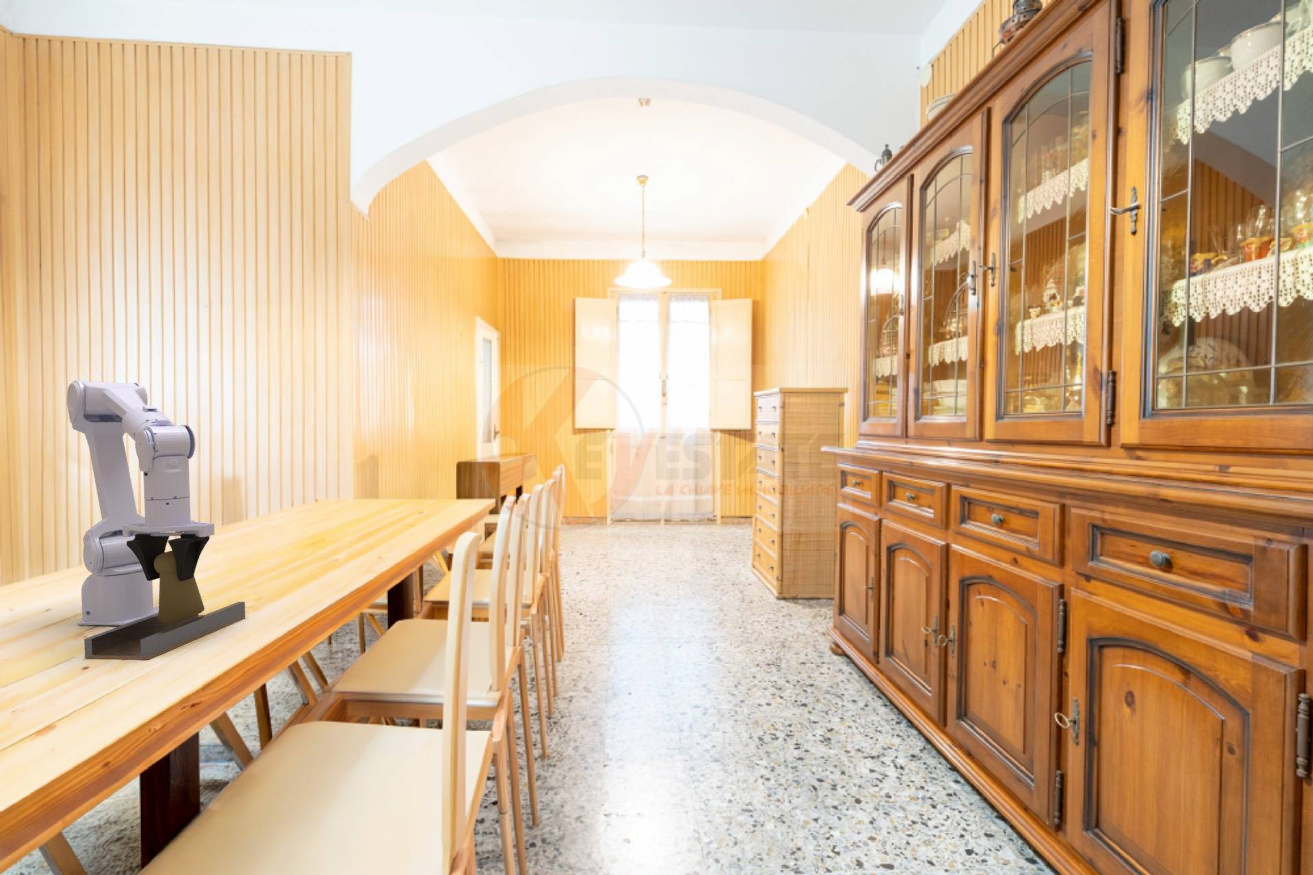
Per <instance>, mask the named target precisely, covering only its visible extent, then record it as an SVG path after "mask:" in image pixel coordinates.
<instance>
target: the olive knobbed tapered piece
mask: <svg viewBox="0 0 1313 875" xmlns="http://www.w3.org/2000/svg"><path fill="white" fill-rule="evenodd" d="M154 568H155V570H156V571H157V572H158V573H159V574H160V578H159V584H158V586H159V588H158V589H159V590H158V592H159V593H158V608H159V614H158V620H159V621H161V622H171V621H178V620H183V619H186V618H190V617H192V616H195V615H197V614H198V615H200V614H201V613H203V612H204V610H205V605H204V602H203V599H202V596H201V593H200V590H199V587H198V583H197V580H196V578H195V576H194V577H193V578H191V579H188V580H185V581H179V580H178V577H177V570H176V561H175V557H174V554H173V551H172V550H168V551H166V552H165V553H162V554H160V555H158V556H157V557H156V558H155V560H154Z"/></svg>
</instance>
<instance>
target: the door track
mask: <svg viewBox="0 0 1313 875" xmlns="http://www.w3.org/2000/svg"><path fill="white" fill-rule="evenodd" d="M158 614H159V613H157V614H154V615H151V616H148V617H145V618H142V619H140V620H137V621H134V622H131V623H128V624H125V625H119V626H117V627H115V628H112V629H109V630H105V631H103V632H100V633H97V634H94V635H91V636H89V637H86V638H84V639H83V642H84V659H89V660H90V659H94V660H95V659H98V660H99V659H100V660H103V659H104V660H105V659H106V660H144V661H145V660H146V661H147V660H151V659H153V658H156V657H159V656H160V655H163V654H165V653H167V652H169V651H172V650H174V649H177V648H179V647H181V646H182V647H183V645H186V644H189V643H191V642H193V641H195V640H197V639H199V638H202V637H204V636H207V635H209V634H212V633H214V632H217V631H219V630H221V629H223V628H226V627H228V626H230V625H233V624H236V623H237V622H239V621H242V620H244V619H246V602H245V601H236V602H234V603H232V604H229V605H227V606H224V607H222V608H219V609H217V610H214V611H212V612H211V611H210V612H208V613H206V614H197V615H195V616H192V617H190V618H186V619H183V620H178V621H171V622H161V621H159V620H158Z"/></svg>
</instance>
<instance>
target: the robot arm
mask: <svg viewBox="0 0 1313 875" xmlns="http://www.w3.org/2000/svg"><path fill="white" fill-rule="evenodd" d="M66 391H67V392H66V406H67V412H68V416H69V422H70V424H71V425H72V426H71V427H72V429H73V430H75V431H77V432H79V433H82V434H84V436H85V439H86V442H87V446H88V449H89V456H90V461H91V466H92V471H93V477H94V482H95V488H96V493H97V499H98V504H99V511H100V516H101V520H100V521H98V522H97V523H96V524H94V525H92V527H90V528H88V530H87V531H86V532H85V534H84V535H83V538H82V540H83V543H82V544H83V549H82V550H83V551H82V557H83V563H84V567H85V568H86V570H87V571H88V572H90V575H88V576H87V577H86V578H85V580H83V583H82V586H81V590H80V591H81V615H82V616H81V617H82V618H81V619H82V620H80V621H78V622H77V623H76V625H78V626H122V625H125V624H128V623H131V622H134V621H137V620H140V619H142V618H145V617H148V616H151V615H154V614H157V613H159V607H154V590H153V586H154V585H153V581H155V580H160V574H159V573H158V572H157V571H156V570H155V568H154V560H155V558H156V557H157V556H158V555H160V554H162V553H165V551H166V549H167V545H169V547H170V548H171V551H173V554H174V557H175V561H176V570H177V577H178V580H179V581H185V580H188V579H191V578H193V577H195V573H196V569H197V565H198V562H199V559H200V556H201V555H202V552H203V550H204V548H205V547H206V545H207V543H208V542H209V541H210V538H211V536H214V535H215V523H214V522H212V523H211V522H198V521H195V520H193V519H191V491H190V488H191V486H190V464H189V462H190V459H192V458H193V456H194V454H195V451H196V437H195V433H194V430H193V429H192V428H191V427H190V425H188V424H180V425H176V424H175V423H173V421H171V420H170V418H169V417H167V416H166V415H165V414H164V413H163V412H162V411H161V410H159V409H158V408H157V407H156V406H155V405H148V402H149V401H148V399H149V397H148V393H147V390H146V387H145V386H143V384H141V383H140V382H133V383H131V382H130V383H128V382H127V383H126V382H107V381H106V382H105V381H103V382H102V381H83V380H78V379H75V380H73V381H72V382H71V383H70V384H69V385H68V387H67V390H66ZM126 433H127V435H128V436H130V438H131V439H132V440H133V441H134V442H135V443H134V447H135V453H136V456H137V459H138V467H139V471H140V472H143V473H142V474H143V476H142V477H143V500H144V501H143V503H144V516H143V515H141V514H139V513H138V511H137V505H136V500H135V495H134V494H135V493H134V490H133V489H134V488H133V484H132V478H131V474H130V473H131V472H130V468H129V463H128V459H127V457H128V456H127V453H126V448H125V441H124V436H125V434H126ZM170 537H177V538H173V539H170Z"/></svg>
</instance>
